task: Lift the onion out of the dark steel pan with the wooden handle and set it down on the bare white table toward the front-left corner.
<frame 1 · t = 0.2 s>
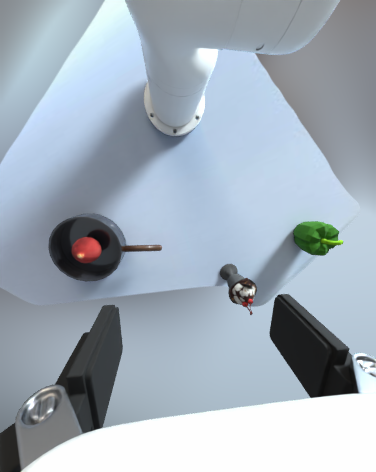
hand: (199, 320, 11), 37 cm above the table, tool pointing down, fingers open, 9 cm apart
pan: (93, 244, 45), on the table
bell pepper: (301, 233, 51), on the table
onion: (93, 244, 45), resting on pan
sundae: (228, 271, 52), on the table
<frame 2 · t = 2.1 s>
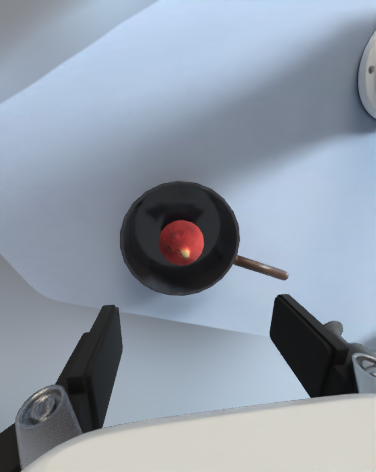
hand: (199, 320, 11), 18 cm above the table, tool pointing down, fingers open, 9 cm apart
pan: (179, 234, 28), on the table
onion: (179, 234, 28), resting on pan
sundae: (329, 330, 37), on the table
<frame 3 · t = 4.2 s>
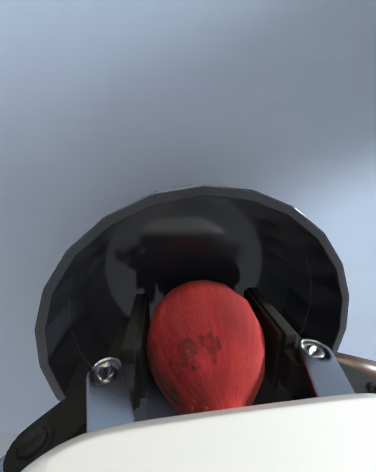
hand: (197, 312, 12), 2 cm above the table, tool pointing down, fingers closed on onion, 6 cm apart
pan: (193, 294, 13), on the table
onion: (193, 295, 13), resting on pan, touching gripper
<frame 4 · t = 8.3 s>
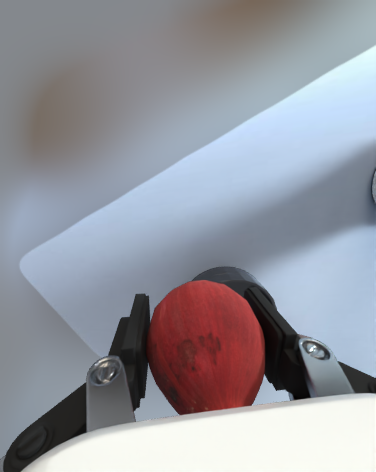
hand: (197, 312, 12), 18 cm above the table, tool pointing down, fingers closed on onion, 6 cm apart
pan: (221, 306, 33), on the table
onion: (193, 295, 13), point 16 cm above the table, touching gripper
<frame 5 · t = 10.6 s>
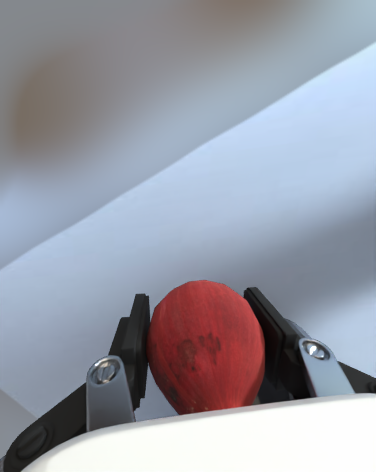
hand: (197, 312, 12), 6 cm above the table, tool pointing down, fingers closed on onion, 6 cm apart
pan: (251, 369, 22), on the table
onion: (193, 295, 13), point 4 cm above the table, touching gripper
when the fingers open (2 cm above the table, at t = 12.3 s): onion stays where it is, on the table.
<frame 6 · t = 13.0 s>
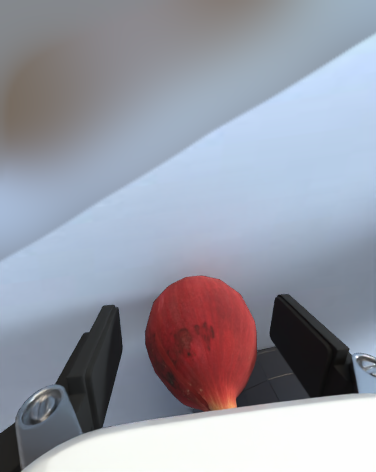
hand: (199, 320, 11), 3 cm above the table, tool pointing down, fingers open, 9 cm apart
pan: (267, 408, 18), on the table
onion: (190, 291, 14), on the table
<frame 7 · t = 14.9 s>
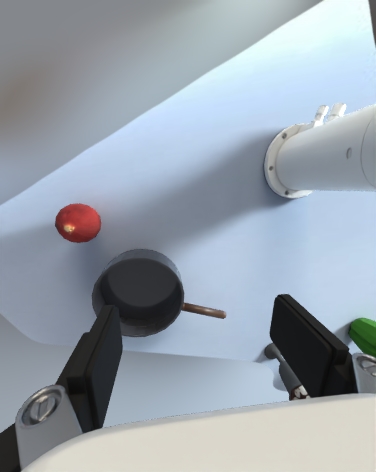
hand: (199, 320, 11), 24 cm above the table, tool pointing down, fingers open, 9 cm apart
pan: (142, 286, 36), on the table
bell pepper: (356, 326, 47), on the table
onion: (88, 219, 31), on the table
sundae: (273, 349, 45), on the table
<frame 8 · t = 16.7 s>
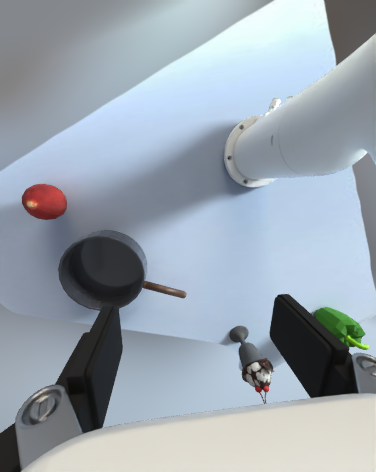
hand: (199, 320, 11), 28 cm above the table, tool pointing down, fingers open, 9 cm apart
pan: (109, 265, 39), on the table
bell pepper: (321, 315, 49), on the table
onion: (58, 200, 34), on the table
sundae: (238, 333, 48), on the table
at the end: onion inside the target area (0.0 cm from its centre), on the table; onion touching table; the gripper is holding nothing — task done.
